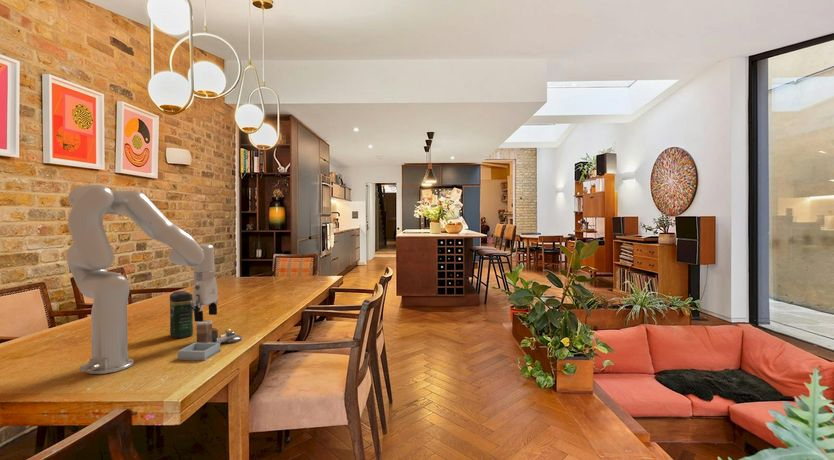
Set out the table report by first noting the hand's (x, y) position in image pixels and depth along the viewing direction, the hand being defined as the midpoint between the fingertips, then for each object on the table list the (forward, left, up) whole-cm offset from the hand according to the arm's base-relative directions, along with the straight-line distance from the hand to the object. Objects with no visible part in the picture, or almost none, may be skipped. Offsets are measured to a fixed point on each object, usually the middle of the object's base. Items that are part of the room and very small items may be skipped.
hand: (206, 317), depth 165 cm
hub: (+2, -9, -10) cm, 13 cm away
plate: (+7, -5, -10) cm, 13 cm away
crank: (-2, -8, -8) cm, 12 cm away
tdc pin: (+7, -5, -10) cm, 13 cm away
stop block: (-1, 0, -10) cm, 10 cm away
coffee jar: (+7, +15, -10) cm, 19 cm away
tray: (-16, -7, -9) cm, 20 cm away
